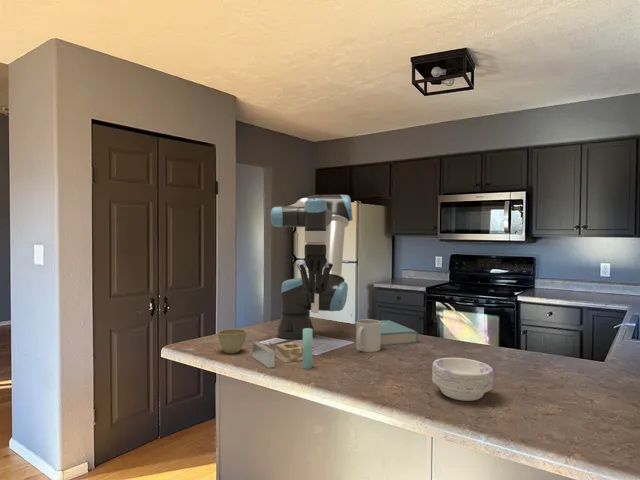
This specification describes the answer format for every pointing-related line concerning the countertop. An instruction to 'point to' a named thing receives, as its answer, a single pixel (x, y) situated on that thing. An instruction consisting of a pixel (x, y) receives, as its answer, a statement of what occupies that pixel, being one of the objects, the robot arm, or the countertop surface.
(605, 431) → the countertop surface
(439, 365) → the paper bowls
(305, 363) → the dowel
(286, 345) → the block
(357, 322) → the mug
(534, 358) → the countertop surface
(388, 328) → the book
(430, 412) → the countertop surface
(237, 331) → the flower pot
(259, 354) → the backstop rail
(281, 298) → the robot arm
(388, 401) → the countertop surface
